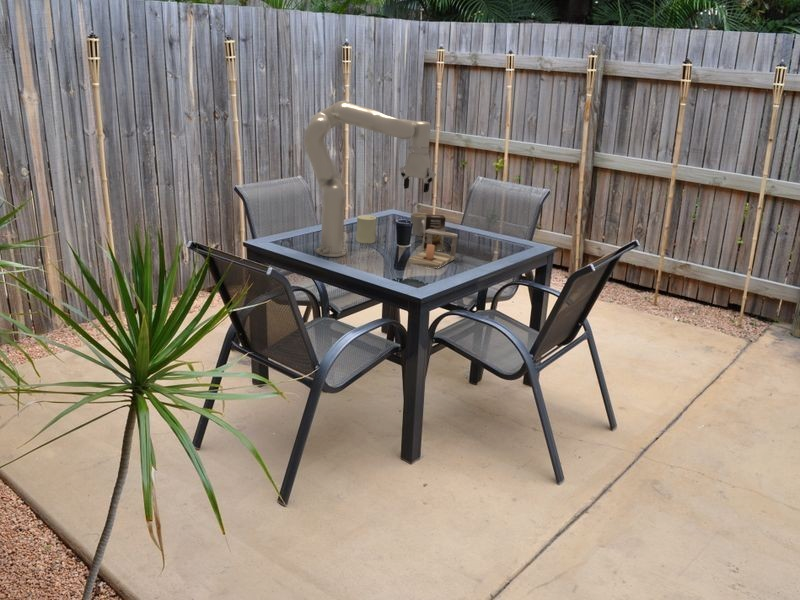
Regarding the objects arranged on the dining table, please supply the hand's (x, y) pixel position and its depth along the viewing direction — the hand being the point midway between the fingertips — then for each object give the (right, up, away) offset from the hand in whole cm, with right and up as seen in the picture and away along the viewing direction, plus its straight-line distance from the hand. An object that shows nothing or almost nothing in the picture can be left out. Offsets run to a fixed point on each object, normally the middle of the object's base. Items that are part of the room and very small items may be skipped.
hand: (415, 190), depth 320 cm
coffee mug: (+3, -16, +47) cm, 49 cm away
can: (-23, -20, +28) cm, 42 cm away
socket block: (+7, -31, +3) cm, 32 cm away
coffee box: (+8, -25, +22) cm, 34 cm away
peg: (+6, -32, +1) cm, 32 cm away
